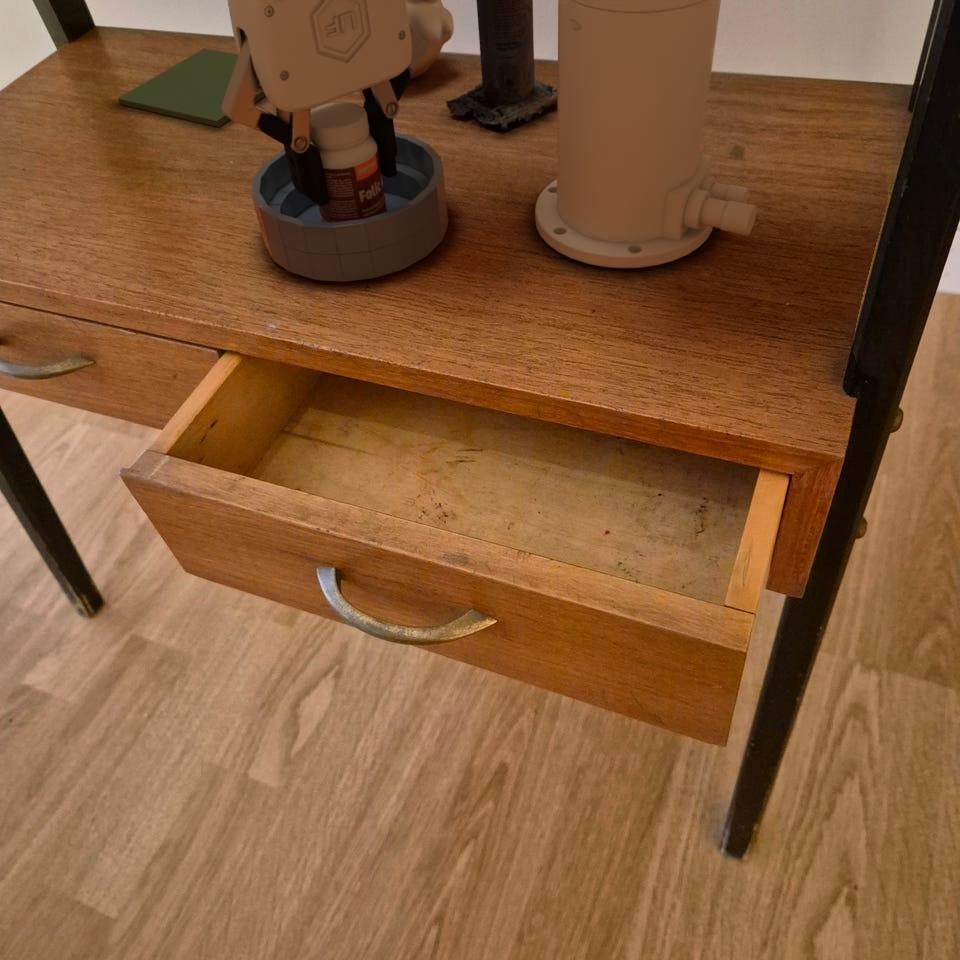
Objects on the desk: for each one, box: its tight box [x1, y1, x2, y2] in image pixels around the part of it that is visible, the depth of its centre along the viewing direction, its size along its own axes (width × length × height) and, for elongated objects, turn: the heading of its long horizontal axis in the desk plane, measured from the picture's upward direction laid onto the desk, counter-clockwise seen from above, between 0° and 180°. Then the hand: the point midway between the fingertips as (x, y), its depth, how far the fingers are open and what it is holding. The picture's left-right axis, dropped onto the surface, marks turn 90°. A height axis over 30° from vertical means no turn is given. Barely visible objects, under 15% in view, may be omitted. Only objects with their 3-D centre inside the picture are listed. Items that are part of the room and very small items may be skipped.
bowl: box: [250, 131, 449, 283], centre depth 62 cm, size 13×13×4 cm
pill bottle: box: [310, 101, 387, 222], centre depth 60 cm, size 5×5×8 cm
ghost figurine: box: [405, 0, 455, 80], centre depth 78 cm, size 9×10×10 cm
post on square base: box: [445, 0, 558, 132], centre depth 71 cm, size 9×8×12 cm
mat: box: [117, 48, 266, 128], centre depth 82 cm, size 12×12×1 cm
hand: (348, 181), depth 61 cm, fingers closed on pill bottle, 4 cm apart
